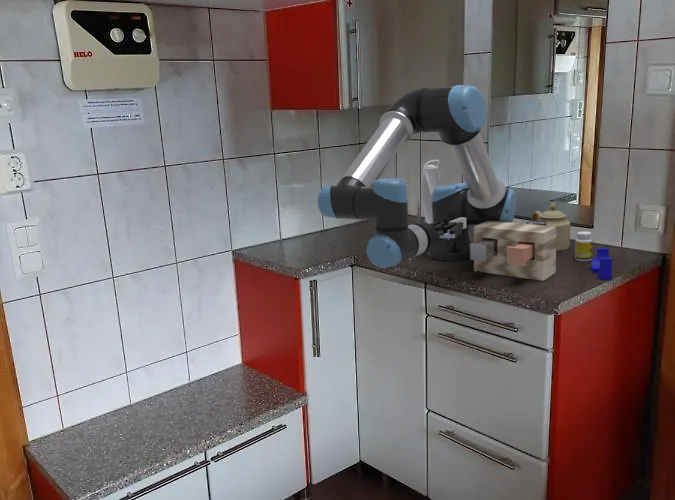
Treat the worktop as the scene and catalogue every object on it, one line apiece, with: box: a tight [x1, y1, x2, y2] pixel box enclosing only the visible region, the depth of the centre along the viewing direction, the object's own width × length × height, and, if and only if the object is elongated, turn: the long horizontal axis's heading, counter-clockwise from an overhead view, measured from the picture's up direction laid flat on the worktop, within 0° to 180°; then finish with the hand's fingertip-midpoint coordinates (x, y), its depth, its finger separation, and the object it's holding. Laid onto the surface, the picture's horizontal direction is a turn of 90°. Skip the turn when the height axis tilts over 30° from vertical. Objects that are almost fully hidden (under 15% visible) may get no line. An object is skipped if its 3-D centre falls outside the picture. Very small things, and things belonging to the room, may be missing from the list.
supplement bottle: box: [574, 231, 593, 262], centre depth 190 cm, size 5×5×8 cm
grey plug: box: [469, 238, 498, 261], centre depth 181 cm, size 5×12×5 cm, turn 140°
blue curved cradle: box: [590, 247, 613, 281], centre depth 176 cm, size 12×4×6 cm, turn 162°
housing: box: [473, 221, 557, 282], centre depth 182 cm, size 21×9×14 cm, turn 50°
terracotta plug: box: [507, 242, 535, 266], centre depth 174 cm, size 5×12×5 cm, turn 140°
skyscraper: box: [416, 159, 442, 224], centre depth 234 cm, size 8×8×28 cm
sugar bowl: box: [531, 202, 571, 252], centre depth 208 cm, size 15×11×15 cm
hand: (463, 222), depth 168 cm, fingers closed
